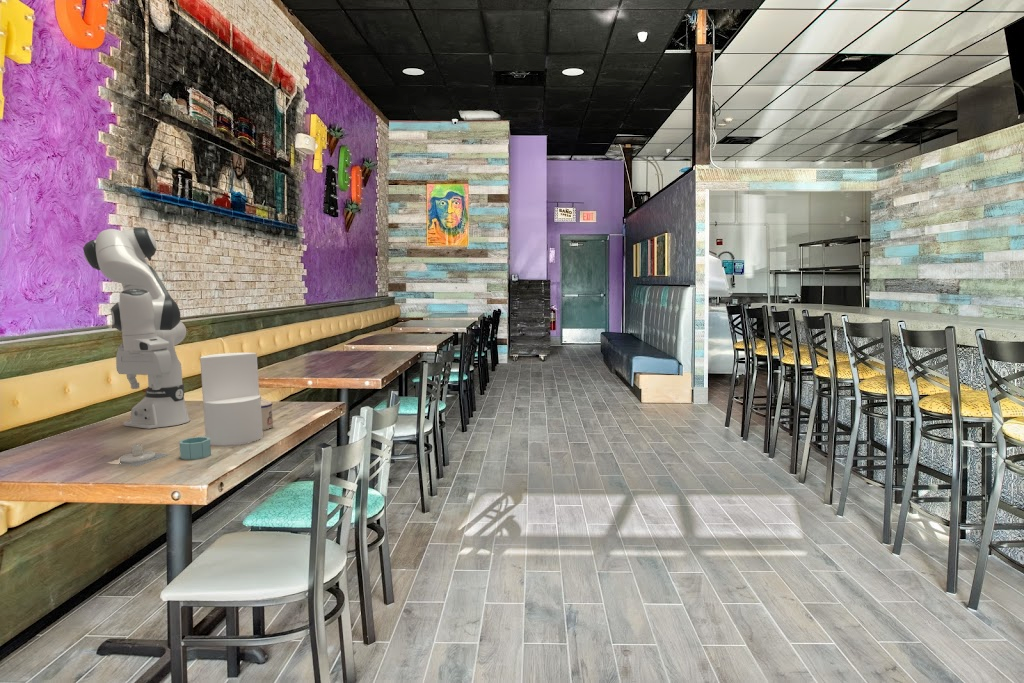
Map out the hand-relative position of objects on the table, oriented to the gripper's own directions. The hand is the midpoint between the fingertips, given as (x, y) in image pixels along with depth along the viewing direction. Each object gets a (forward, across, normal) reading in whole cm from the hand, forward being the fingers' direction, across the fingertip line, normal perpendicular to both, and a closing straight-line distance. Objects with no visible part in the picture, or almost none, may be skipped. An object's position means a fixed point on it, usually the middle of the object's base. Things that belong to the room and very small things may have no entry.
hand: (145, 389), depth 184 cm
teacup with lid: (+21, +4, +38) cm, 44 cm away
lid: (+20, +1, -5) cm, 21 cm away
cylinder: (+21, +9, +22) cm, 32 cm away
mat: (+20, +1, -5) cm, 21 cm away
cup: (+21, +14, +3) cm, 25 cm away
